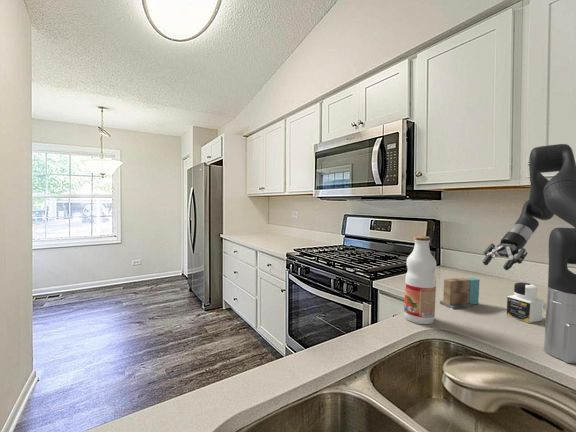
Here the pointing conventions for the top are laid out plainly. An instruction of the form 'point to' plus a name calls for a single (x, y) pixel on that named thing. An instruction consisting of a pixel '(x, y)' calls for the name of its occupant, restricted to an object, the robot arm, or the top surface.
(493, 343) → the top surface
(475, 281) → the teal block
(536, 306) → the medicine bottle
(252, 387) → the top surface
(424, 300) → the fruit juice
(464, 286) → the brown block
